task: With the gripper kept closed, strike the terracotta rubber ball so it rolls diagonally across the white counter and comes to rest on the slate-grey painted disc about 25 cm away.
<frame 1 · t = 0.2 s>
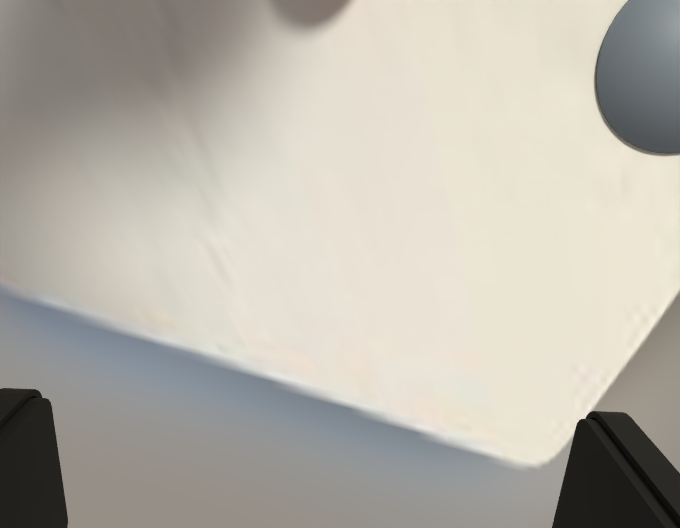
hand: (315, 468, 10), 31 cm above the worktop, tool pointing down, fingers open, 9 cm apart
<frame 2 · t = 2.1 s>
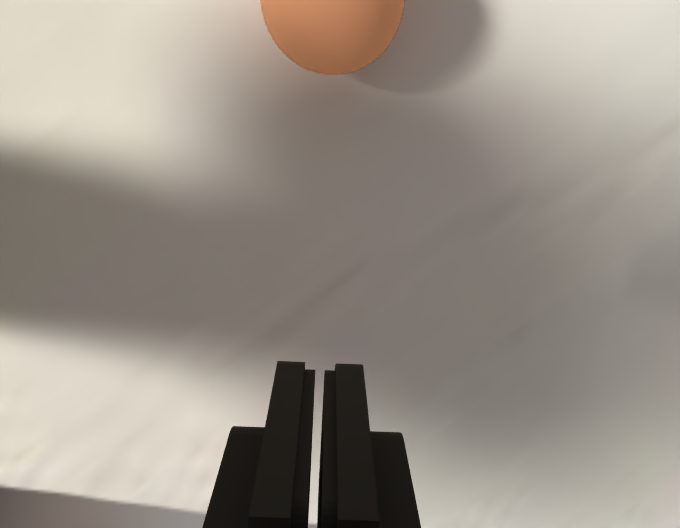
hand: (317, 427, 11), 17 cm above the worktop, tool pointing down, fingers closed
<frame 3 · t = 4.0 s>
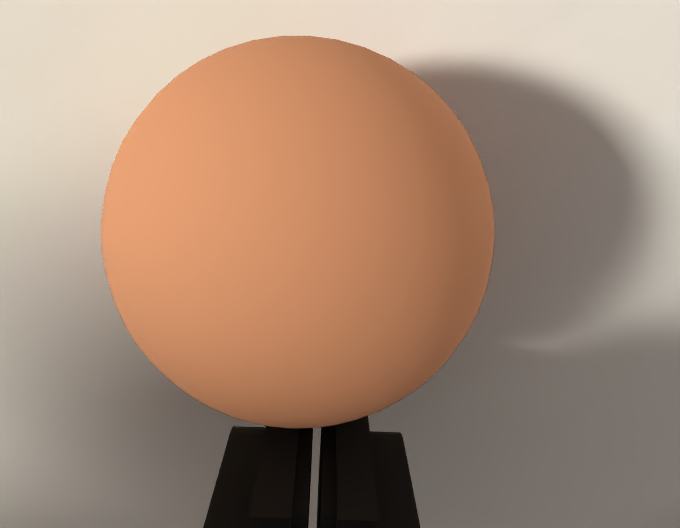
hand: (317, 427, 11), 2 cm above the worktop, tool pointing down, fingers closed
ball: (302, 235, 8), on the worktop, touching gripper
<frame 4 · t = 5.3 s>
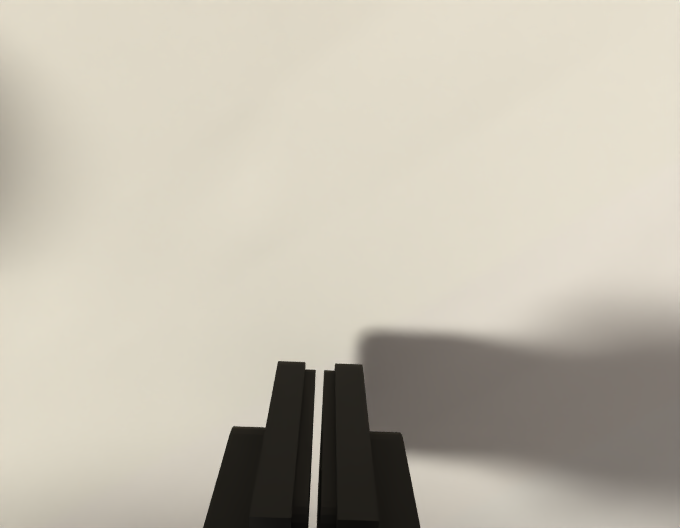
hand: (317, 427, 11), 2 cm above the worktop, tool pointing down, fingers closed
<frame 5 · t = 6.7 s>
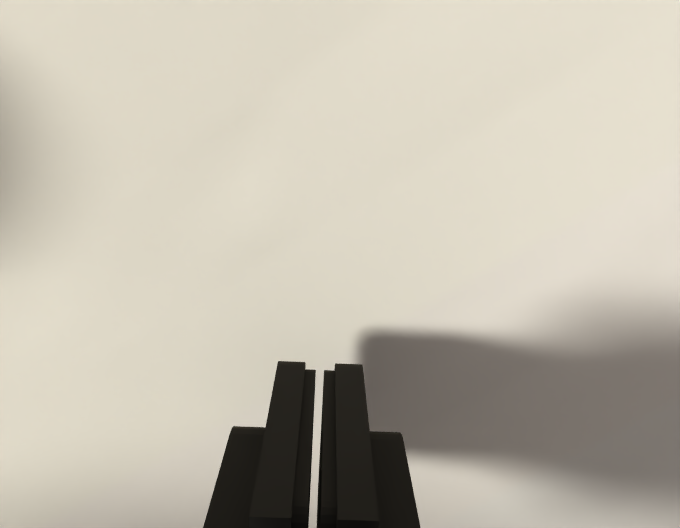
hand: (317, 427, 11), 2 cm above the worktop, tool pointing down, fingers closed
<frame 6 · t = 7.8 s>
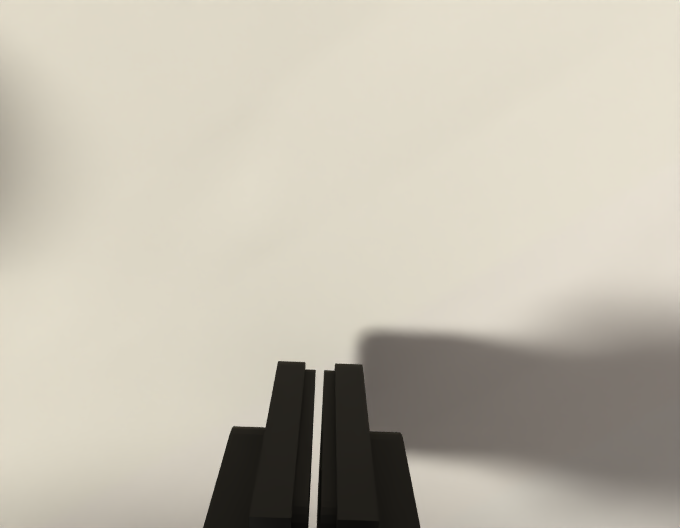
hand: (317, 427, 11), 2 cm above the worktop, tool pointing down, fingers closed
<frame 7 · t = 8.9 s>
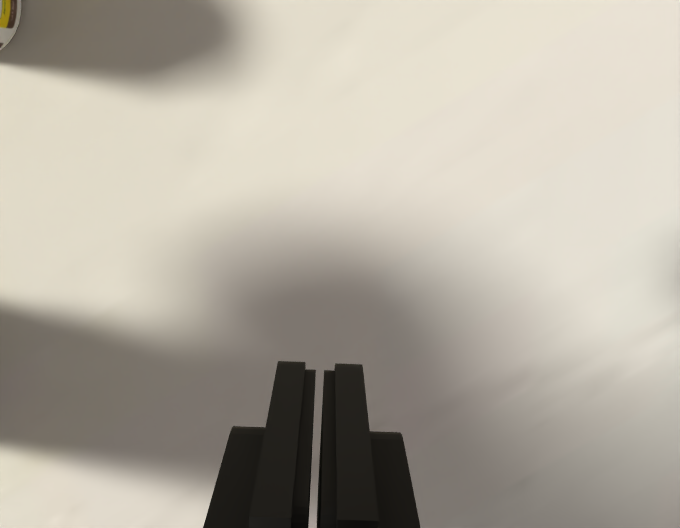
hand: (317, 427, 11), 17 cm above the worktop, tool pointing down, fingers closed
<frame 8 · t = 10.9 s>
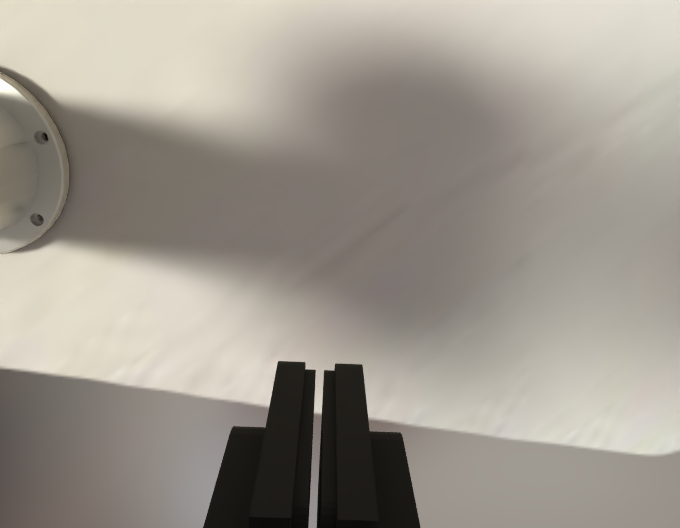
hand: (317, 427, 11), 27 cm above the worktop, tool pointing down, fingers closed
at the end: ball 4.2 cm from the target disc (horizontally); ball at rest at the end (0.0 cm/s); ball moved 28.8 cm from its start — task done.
